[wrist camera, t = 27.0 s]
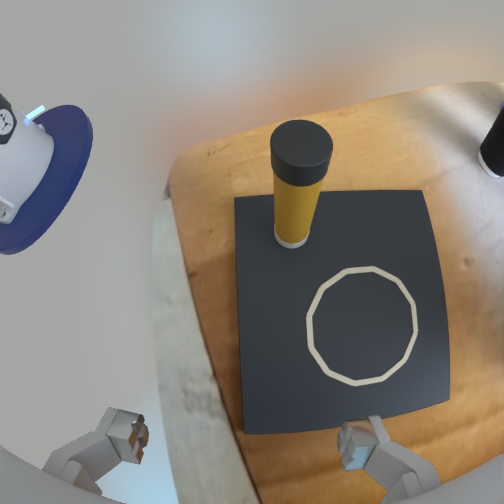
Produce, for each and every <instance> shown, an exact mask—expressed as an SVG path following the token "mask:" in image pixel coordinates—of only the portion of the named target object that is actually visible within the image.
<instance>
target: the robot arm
mask: <svg viewBox="0 0 504 504" xmlns="http://www.w3.org/2000/svg"><path fill="white" fill-rule="evenodd" d="M44 109H45V108H44V107H43V106H41V107H39V108H37V109H36V110H34V111H33V112H31V113H30V114H28V115H27V116H25V115H24V114H23V113H22V112H21V111H20V110H18V109H17V108H11V104H10V103H9V102H8V101H7V100H6V98H5V97H4V96H3V95H1V94H0V223H5V224H9V223H11V222H12V220H13V219H14V217H15V215H16V214H17V212H18V210H19V208H20V207H21V205H22V204H23V203H24V202H25V201H26V200H27V199H28V198H29V196H30V195H31V194H32V193H33V191H34V190H35V189H36V187H37V186H38V184H39V183H40V181H41V180H42V178H43V176H44V174H45V172H46V170H47V168H48V166H49V164H50V161H51V158H52V155H53V150H54V141H53V138H52V137H51V136H50V135H49V134H47V133H46V132H45V127H44V126H43V125H42V124H38V125H36V124H35V123H34V122H33V121H32V120H30V118H32V117H33V116H35V115H36V114H38V113H40V112H41V111H43V110H44ZM144 420H145V419H144V417H143V415H141V414H137V413H132V412H128V411H124V410H119V409H115V408H111V407H109V408H108V409H107V410H106V412H105V414H104V416H103V417H102V419H101V421H100V423H99V425H98V426H97V428H96V430H95V432H90V433H88V434H86V435H84V436H82V437H80V438H78V439H76V440H74V441H72V442H70V443H68V444H66V445H64V446H62V447H60V448H58V449H56V450H54V451H53V452H52V454H51V455H50V457H49V459H48V460H47V462H46V464H45V466H44V467H43V469H42V470H40V469H39V468H37V467H35V466H33V465H31V464H29V463H28V462H26V461H24V460H22V459H21V458H19V457H17V456H16V455H14V454H12V453H11V452H9V451H8V450H6V449H5V448H3V447H2V446H0V504H125V503H122V502H118V501H115V500H112V499H109V498H106V497H103V496H101V495H102V491H101V489H100V488H99V487H98V485H97V484H96V483H95V481H97V480H98V479H100V478H101V477H102V476H103V475H105V474H106V473H107V472H109V471H110V470H111V469H113V468H114V467H115V466H117V465H118V464H119V463H120V462H122V461H126V462H130V463H135V464H140V463H141V459H142V457H143V454H144V453H143V450H142V448H144V447H145V446H146V445H147V443H148V436H149V432H148V428H147V426H146V425H145V424H144ZM341 426H342V430H341V431H340V432H339V434H338V437H337V446H338V451H339V452H340V453H341V454H343V456H342V458H341V462H342V466H343V470H344V471H349V470H356V469H362V468H363V470H364V471H365V472H367V473H368V474H369V475H370V476H371V477H372V478H373V479H374V480H376V481H377V482H378V483H379V484H380V485H381V486H383V487H384V488H385V489H386V490H387V491H388V493H387V494H386V495H385V497H384V498H383V499H382V500H381V501H380V503H381V504H504V454H500V455H498V456H496V457H495V458H493V459H491V460H490V461H488V462H486V463H484V464H483V465H481V466H479V467H477V468H475V469H474V470H472V471H470V472H468V473H466V474H464V475H462V476H460V477H458V478H456V479H453V480H451V481H449V482H447V483H445V484H442V482H441V480H440V478H439V476H438V474H437V472H436V470H435V468H434V466H433V464H432V463H430V462H428V461H427V460H425V459H423V458H421V457H420V456H418V455H416V454H415V453H413V452H411V451H410V450H408V449H406V448H405V447H403V446H401V445H400V444H398V443H397V442H395V441H392V442H391V440H390V438H389V436H388V433H387V431H386V429H385V427H384V425H383V422H382V420H381V418H380V416H378V415H375V416H369V417H362V418H355V419H349V420H344V421H343V423H342V425H341ZM121 460H122V461H121Z"/></svg>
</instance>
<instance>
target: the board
mask: <svg viewBox="0 0 504 504" xmlns="http://www.w3.org/2000/svg"><path fill="white" fill-rule="evenodd" d="M274 225H275V211H274V195H260V196H248V197H236V198H235V237H236V269H237V297H238V323H239V346H240V367H241V387H242V406H243V424H244V434H275V433H291V432H303V431H313V430H322V429H329V428H337V427H342V426H341V425H342V423H343V421H344V420H349V419H355V418H362V417H369V416H375V415H378V416H380V418H381V419H385V418H389V417H393V416H397V415H401V414H405V413H409V412H412V411H416V410H419V409H422V408H426V407H429V406H432V405H435V404H438V403H441V402H444V401H447V400H449V398H450V350H449V332H448V320H447V310H446V301H445V293H444V286H443V279H442V273H441V268H440V262H439V257H438V252H437V247H436V242H435V238H434V233H433V229H432V225H431V221H430V217H429V213H428V210H427V206H426V202H425V199H424V196H423V192H422V190H365V191H331V192H320V193H319V197H318V201H317V204H316V208H315V212H314V215H313V219H312V222H311V226H310V231H309V235H308V238H307V240H306V242H305V243H304V244H303V245H302V246H300V247H297V248H286V247H284V246H282V245H281V244H280V243H279V242H278V241H277V240H276V238H275V234H274Z"/></svg>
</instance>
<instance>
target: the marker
mask: <svg viewBox="0 0 504 504" xmlns="http://www.w3.org/2000/svg"><path fill="white" fill-rule="evenodd" d="M270 147H271V165H272V169H273V176H274V211H275V225H274V234H275V238H276V240H277V241H278V242H279V243H280V244H281V245H282V246H284V247H286V248H297V247H300V246H302V245H303V244H304V243H305V242H306V240H307V238H308V235H309V231H310V226H311V222H312V219H313V215H314V212H315V208H316V204H317V201H318V197H319V193H320V190H321V186H322V182H323V178H324V176H325V175H326V173H327V170H328V166H329V162H330V159H331V155H332V151H333V142H332V139H331V137H330V135H329V133H328V132H327V131H326V130H325V129H324V128H323V127H321V126H320V125H318V124H316V123H314V122H311V121H307V120H291V121H287V122H285V123H283V124H281V125H279V126H278V127H277V128H276V129H275V130H274V132H273V133H272V136H271V139H270Z"/></svg>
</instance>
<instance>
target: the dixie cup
mask: <svg viewBox="0 0 504 504" xmlns="http://www.w3.org/2000/svg"><path fill="white" fill-rule="evenodd" d="M478 158H479V161H480V164H481V165H482V167H483V169H484V170H485V171H486V172H487V173H488V174H489V175H490V176H492V177H494V178H499V177H503V176H504V106H503V108H502V110H501V111H500V113H499V115H498V117H497V119H496V121H495V122H494V124H493V126H492V128H491V129H490V131H489V133H488V134H487V136H486V138H485V139H484V141H483V143H482V144H481V146H480V150H479V152H478Z"/></svg>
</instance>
